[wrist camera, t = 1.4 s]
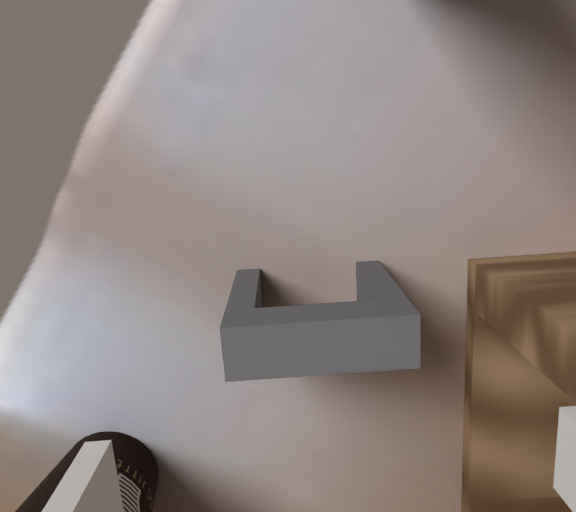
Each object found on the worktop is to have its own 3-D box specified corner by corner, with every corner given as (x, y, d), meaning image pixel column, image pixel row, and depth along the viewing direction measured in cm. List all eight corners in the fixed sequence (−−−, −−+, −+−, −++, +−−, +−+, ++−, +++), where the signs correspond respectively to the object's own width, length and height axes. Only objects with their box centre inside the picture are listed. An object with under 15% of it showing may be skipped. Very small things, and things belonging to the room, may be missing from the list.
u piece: (378, 260, 30) (420, 314, 21) (379, 300, 31) (420, 368, 22) (237, 270, 30) (220, 327, 21) (241, 309, 31) (225, 381, 22)
